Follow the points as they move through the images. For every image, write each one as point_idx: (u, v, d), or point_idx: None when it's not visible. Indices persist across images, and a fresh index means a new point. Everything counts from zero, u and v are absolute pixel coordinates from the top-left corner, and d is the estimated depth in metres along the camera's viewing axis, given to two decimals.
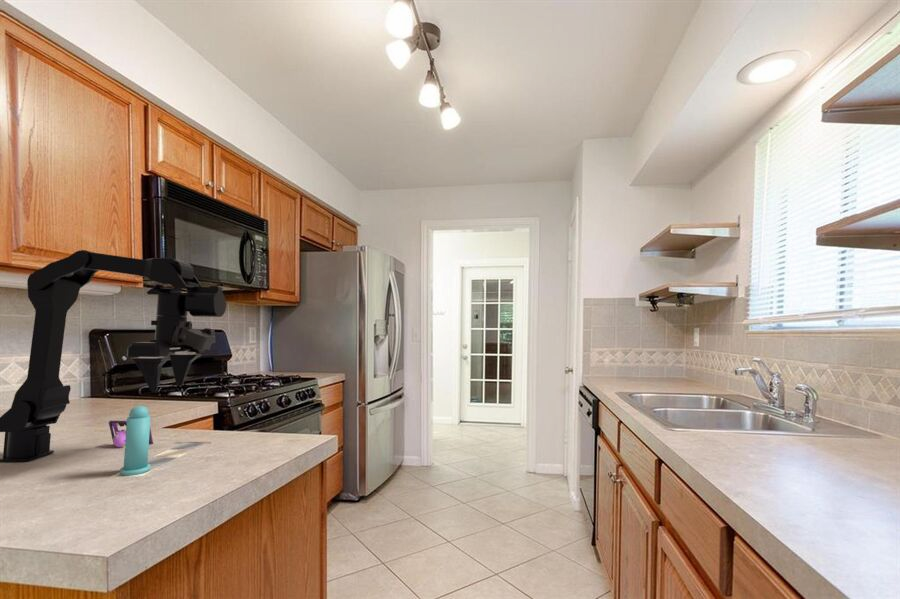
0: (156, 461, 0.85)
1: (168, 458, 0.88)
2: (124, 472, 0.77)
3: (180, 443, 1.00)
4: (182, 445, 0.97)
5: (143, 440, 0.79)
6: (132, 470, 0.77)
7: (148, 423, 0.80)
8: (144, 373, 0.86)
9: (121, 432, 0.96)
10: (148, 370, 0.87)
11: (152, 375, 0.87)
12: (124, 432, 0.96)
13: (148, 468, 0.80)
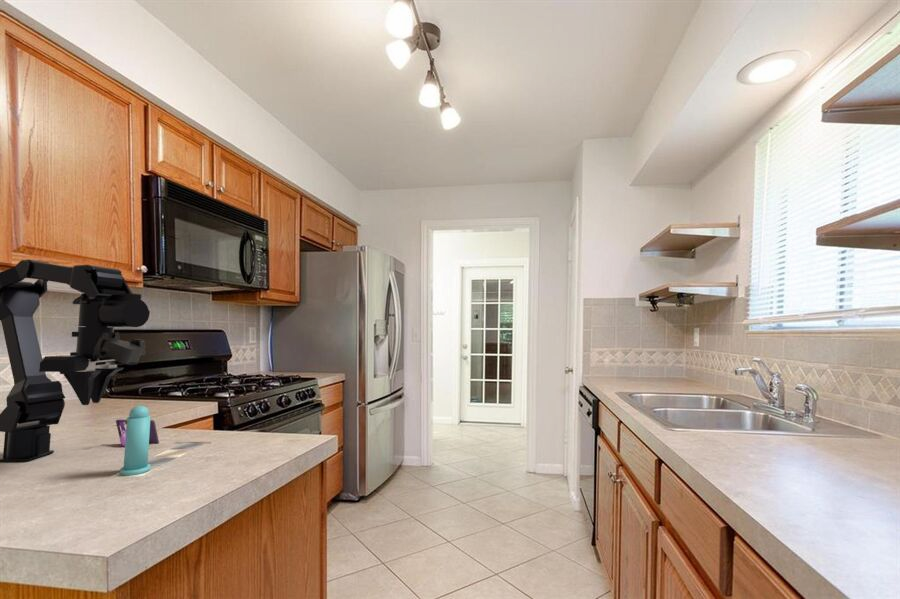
0: (156, 461, 0.85)
1: (168, 458, 0.88)
2: (124, 472, 0.77)
3: (180, 443, 1.00)
4: (182, 445, 0.97)
5: (143, 440, 0.79)
6: (132, 470, 0.77)
7: (148, 423, 0.80)
8: (74, 387, 0.84)
9: None
10: (79, 383, 0.84)
11: (83, 389, 0.84)
12: None
13: (148, 468, 0.80)
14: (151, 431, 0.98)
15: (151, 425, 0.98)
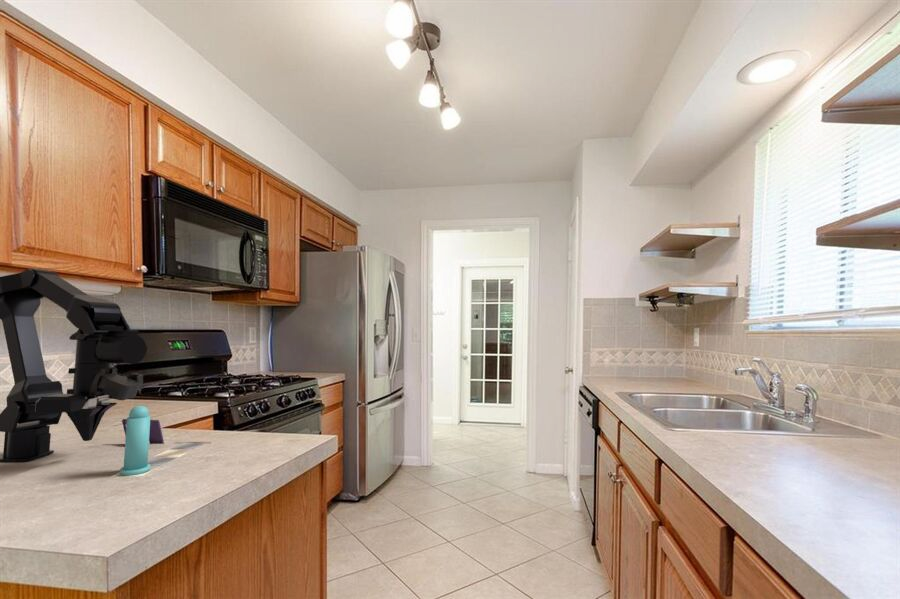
0: (156, 461, 0.85)
1: (168, 458, 0.88)
2: (124, 472, 0.77)
3: (180, 443, 1.00)
4: (182, 445, 0.97)
5: (143, 440, 0.79)
6: (132, 470, 0.77)
7: (148, 423, 0.80)
8: (75, 423, 0.84)
9: None
10: (80, 420, 0.85)
11: (84, 425, 0.85)
12: None
13: (148, 468, 0.80)
14: (156, 431, 0.99)
15: (156, 425, 0.98)
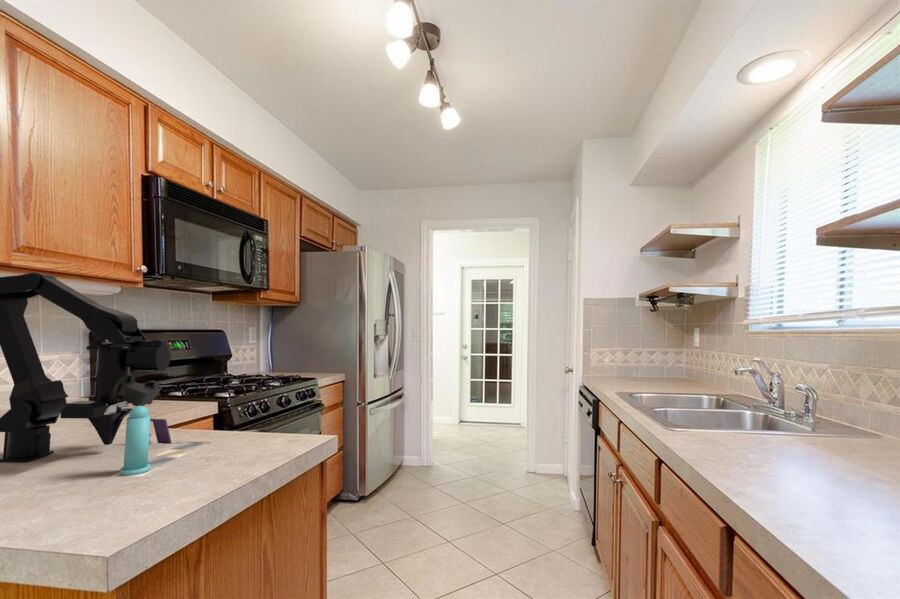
0: (156, 461, 0.85)
1: (168, 458, 0.88)
2: (124, 472, 0.77)
3: (180, 443, 1.00)
4: (182, 445, 0.97)
5: (143, 440, 0.79)
6: (132, 470, 0.77)
7: (148, 423, 0.80)
8: (97, 428, 0.90)
9: None
10: (101, 425, 0.90)
11: (105, 430, 0.90)
12: None
13: (148, 468, 0.80)
14: (163, 430, 1.00)
15: (163, 424, 0.99)
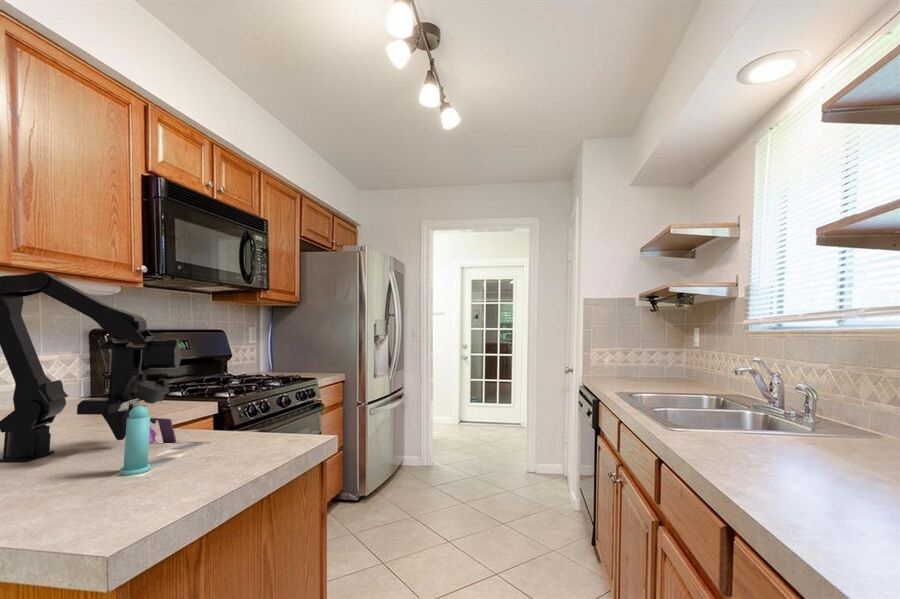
0: (156, 461, 0.85)
1: (168, 458, 0.88)
2: (124, 472, 0.77)
3: (180, 443, 1.00)
4: (182, 445, 0.97)
5: (143, 440, 0.79)
6: (132, 470, 0.77)
7: (148, 423, 0.80)
8: (110, 424, 0.94)
9: None
10: (114, 421, 0.94)
11: (118, 426, 0.94)
12: None
13: (148, 468, 0.80)
14: (168, 429, 1.00)
15: (168, 423, 1.00)
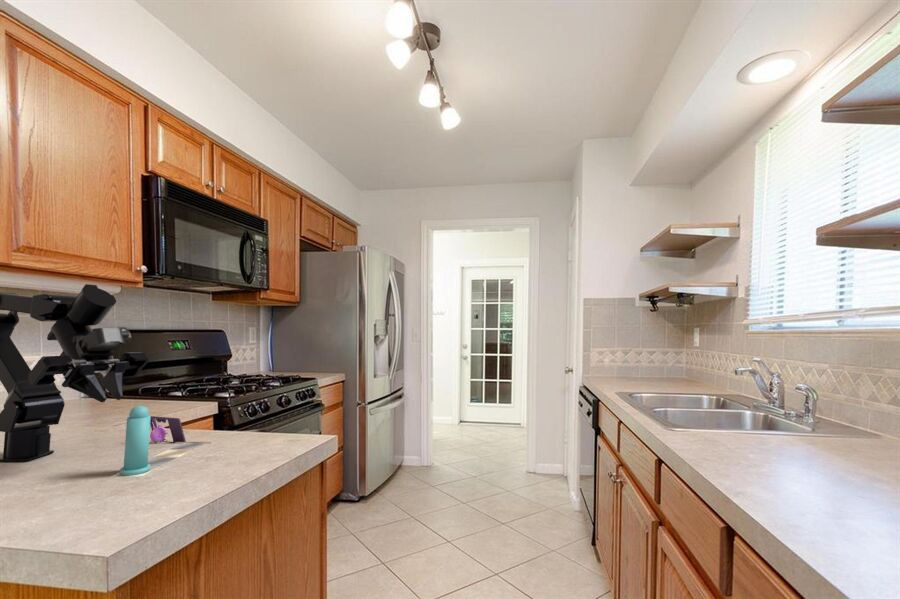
0: (156, 461, 0.85)
1: (168, 458, 0.88)
2: (124, 472, 0.77)
3: (180, 443, 1.00)
4: (182, 445, 0.97)
5: (143, 440, 0.79)
6: (132, 470, 0.77)
7: (148, 423, 0.80)
8: (84, 392, 0.81)
9: (157, 428, 1.01)
10: (85, 386, 0.82)
11: (91, 387, 0.81)
12: (159, 428, 1.01)
13: (148, 468, 0.80)
14: (177, 428, 1.01)
15: (177, 423, 1.01)
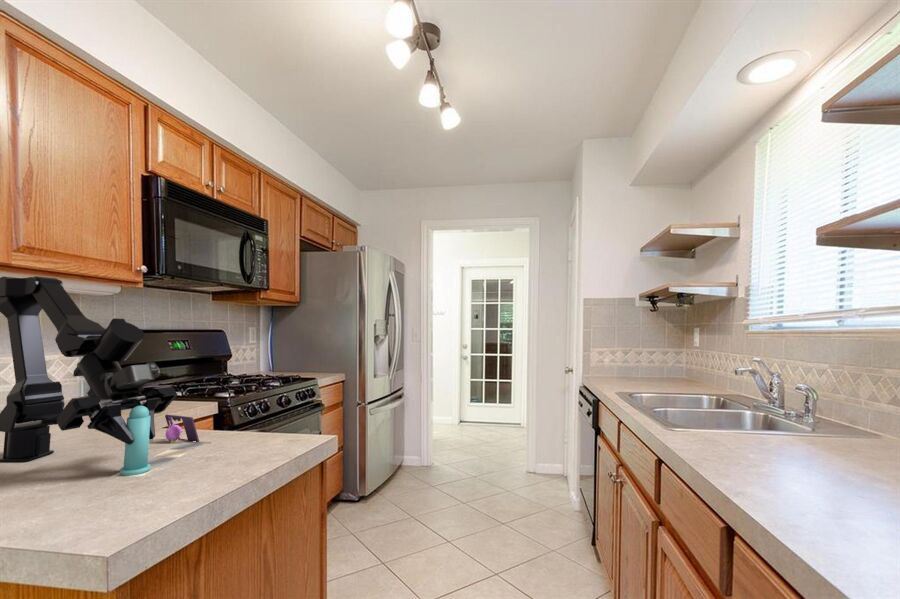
0: (156, 461, 0.85)
1: (168, 458, 0.88)
2: (124, 472, 0.77)
3: (180, 443, 1.00)
4: (182, 445, 0.97)
5: (143, 440, 0.79)
6: (132, 470, 0.77)
7: (148, 423, 0.80)
8: (111, 433, 0.77)
9: (172, 426, 1.03)
10: (112, 428, 0.78)
11: (118, 429, 0.77)
12: (174, 426, 1.03)
13: (148, 468, 0.80)
14: (191, 427, 1.02)
15: (190, 422, 1.02)
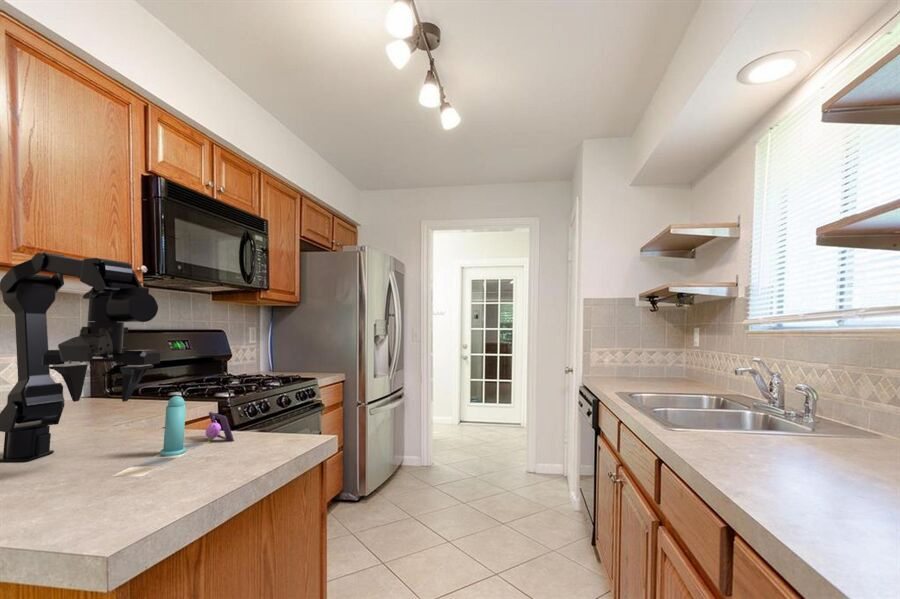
0: (156, 461, 0.85)
1: (168, 458, 0.88)
2: (169, 453, 0.89)
3: None
4: None
5: (182, 425, 0.92)
6: (176, 451, 0.90)
7: (185, 410, 0.93)
8: None
9: (211, 424, 1.06)
10: None
11: None
12: (213, 424, 1.06)
13: (185, 449, 0.92)
14: (226, 426, 1.04)
15: (224, 420, 1.04)
